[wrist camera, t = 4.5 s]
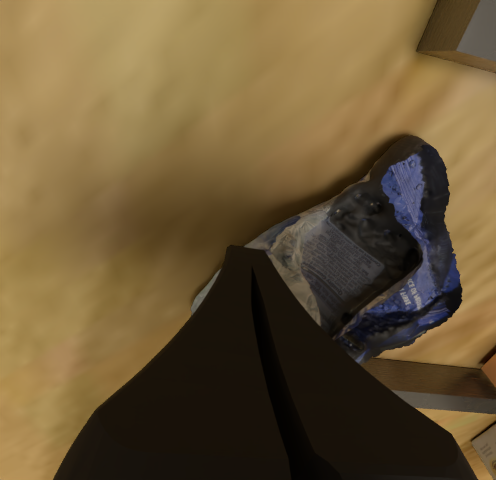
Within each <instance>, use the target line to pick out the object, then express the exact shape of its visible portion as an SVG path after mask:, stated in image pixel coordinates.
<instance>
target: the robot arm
mask: <svg viewBox="0 0 496 480" xmlns="http://www.w3.org/2000/svg"><path fill="white" fill-rule="evenodd" d="M53 480H478V479H477V477H476V475H475V474H474V472H473V470H472V468H471V467H470V465H469V463H468V461H467V460H466V458H465V456H464V454H463V453H462V451H461V449H460V447H459V446H458V444H457V442H456V441H455V439H454V437H453V436H452V434H451V433H449V432H448V431H446V430H445V429H444V428H442V427H441V426H439V425H438V424H437V423H435V422H434V421H432V420H431V419H429V418H428V417H427V416H425V415H424V414H422V413H421V412H420V411H418V410H417V409H415V408H414V407H413V406H411V405H410V404H408V403H407V402H405V401H404V400H403V399H401V398H400V397H399V396H398V395H396V394H395V393H394V392H392V391H391V390H390V389H389V388H387V387H386V386H385V385H384V384H382V383H381V382H380V381H379V380H377V379H376V378H375V377H374V376H372V375H371V374H370V373H369V372H368V371H366V370H365V369H364V368H363V367H362V366H361V365H359V364H358V363H357V362H356V361H355V360H354V359H353V358H352V357H351V356H350V355H348V354H347V353H346V352H345V351H344V350H343V349H342V348H341V347H340V346H339V345H338V344H337V343H336V342H335V341H334V340H333V339H332V338H331V337H330V336H329V335H328V334H327V333H326V332H325V331H324V330H323V329H322V328H321V327H320V326H319V325H318V324H317V322H316V321H315V320H314V319H313V318H312V317H311V316H310V314H309V313H308V312H307V311H306V310H305V308H304V307H303V306H302V305H301V303H300V302H299V301H298V300H297V298H296V297H295V296H294V294H293V293H292V291H291V290H290V289H289V287H288V286H287V284H286V283H285V282H284V280H283V279H282V277H281V276H280V274H279V272H278V271H277V269H276V268H275V266H274V265H273V263H272V261H271V260H270V258H269V257H268V255H267V254H266V252H265V251H264V250H260V249H254V248H247V247H240V246H234V245H230V246H229V247H227V251H226V256H225V261H224V263H223V266H222V268H221V270H220V272H219V274H218V276H217V278H216V280H215V282H214V284H213V285H212V287H211V288H210V290H209V292H208V293H207V295H206V296H205V298H204V300H203V301H202V302H201V304H200V305H199V307H198V308H197V309H196V311H195V312H194V313H193V315H192V316H191V317H190V319H189V320H188V321H187V322H186V323H185V325H184V326H183V327H182V328H181V329H180V330H179V332H178V333H177V334H176V335H175V336H174V337H173V338H172V340H171V341H170V342H169V343H168V344H167V345H166V346H165V347H164V348H163V349H162V350H161V351H160V352H159V353H158V354H157V355H156V356H155V357H154V358H153V359H152V360H151V361H150V362H149V363H148V364H147V365H146V366H145V367H144V368H143V369H142V370H141V371H140V372H138V373H137V374H136V375H135V376H134V377H133V378H132V379H131V380H129V381H128V382H127V383H126V384H125V385H124V386H122V387H121V388H120V389H119V390H118V391H117V392H115V393H114V394H113V395H112V396H111V397H110V398H108V399H107V400H106V401H105V402H104V403H103V404H101V405H100V406H99V407H98V408H97V409H96V410H95V411H94V413H93V414H92V415H91V417H90V418H89V420H88V421H87V423H86V424H85V426H84V427H83V429H82V430H81V432H80V433H79V435H78V436H77V438H76V439H75V441H74V443H73V444H72V446H71V447H70V449H69V451H68V452H67V454H66V456H65V458H64V460H63V461H62V463H61V465H60V467H59V469H58V471H57V473H56V475H55V477H54V479H53Z"/></svg>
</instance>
